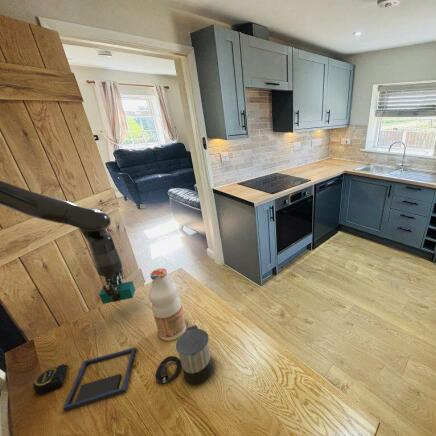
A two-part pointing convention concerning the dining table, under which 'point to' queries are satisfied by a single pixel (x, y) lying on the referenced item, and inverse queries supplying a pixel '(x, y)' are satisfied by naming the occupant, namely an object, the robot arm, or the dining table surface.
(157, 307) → the fruit juice
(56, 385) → the tape measure
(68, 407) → the dark blue open frame
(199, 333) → the milk frother
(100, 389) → the black pad
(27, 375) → the dining table surface
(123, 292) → the teal pad
